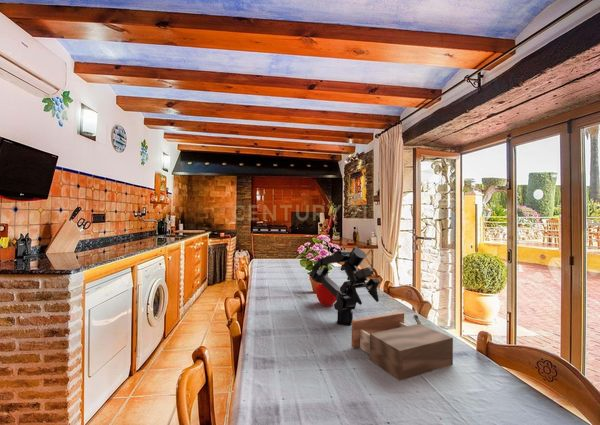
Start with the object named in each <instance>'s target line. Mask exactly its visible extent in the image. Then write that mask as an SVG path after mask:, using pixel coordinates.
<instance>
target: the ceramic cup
mask: <svg viewBox="0 0 600 425" xmlns="http://www.w3.org/2000/svg"><path fill="white" fill-rule="evenodd" d="M315 294H316V298H317V300H318V301H319V303H320V304H321V305H322V306H325V307H326V306H327V307H331V306H334V304H335V303H336V301H337V300H336V297H335V296H334V295H333V294H332V293H331V292H330V291H329V290H328V289H327V288H326V287H325V286H323V285H322V284H321V283H318V284H317V285H315Z"/></svg>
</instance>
